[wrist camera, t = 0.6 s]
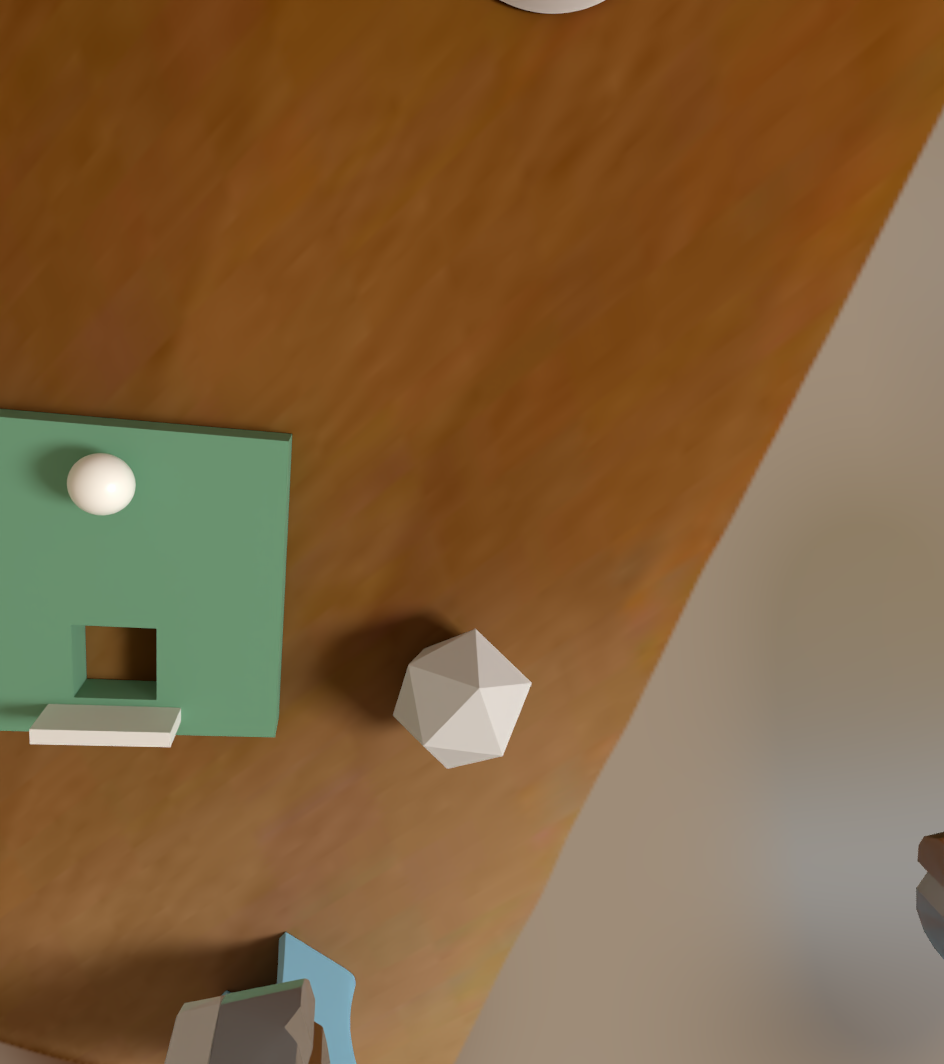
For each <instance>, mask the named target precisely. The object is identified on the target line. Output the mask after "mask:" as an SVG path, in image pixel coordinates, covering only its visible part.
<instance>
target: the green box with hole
mask: <svg viewBox="0 0 944 1064" xmlns="http://www.w3.org/2000/svg"><path fill="white" fill-rule="evenodd" d="M291 448H292V434H287V433H275V432H264V431H252V430H241V429H229V428H217V427H206V426H194V425H183V424H171V423H160V422H148V421H136V420H125V419H113V418H102V417H90V416H78V415H67V414H55V413H44V412H32V411H20V410H9V409H0V731H29V735H30V744H50V745H95V746H141V747H171V744H172V742H173V739H174V737H175V735H202V736H242V737H275V734H276V729H277V724H278V719H279V700H280V679H281V658H282V637H283V616H284V595H285V574H286V553H287V532H288V511H289V490H290V469H291ZM95 453H106V454H110V455H114V456H116V457H118V458H120V459H121V460H123V461H124V462H125V463H126V464H127V465H128V466H129V467H130V469H131V470H132V472H133V474H134V477H135V482H136V488H135V493H134V496H133V498H132V500H131V501H130V503H129V504H128V505H127V506H126V507H125V508H123V509H122V510H120V511H119V512H117V513H114V514H110V515H94V514H90V513H88V512H85V511H83V510H82V509H80V508H79V507H78V506H77V505H76V504H75V503H74V502H73V501H72V499H71V497H70V496H69V493H68V489H67V477H68V474H69V472H70V470H71V468H72V467H73V465H74V464H75V463H76V462H77V461H78V460H80V459H81V458H83V457H85V456H87V455H90V454H95ZM85 625H89V626H111V627H133V628H155V629H156V630H157V681H136V680H108V679H87V675H86V642H85Z"/></svg>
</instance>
